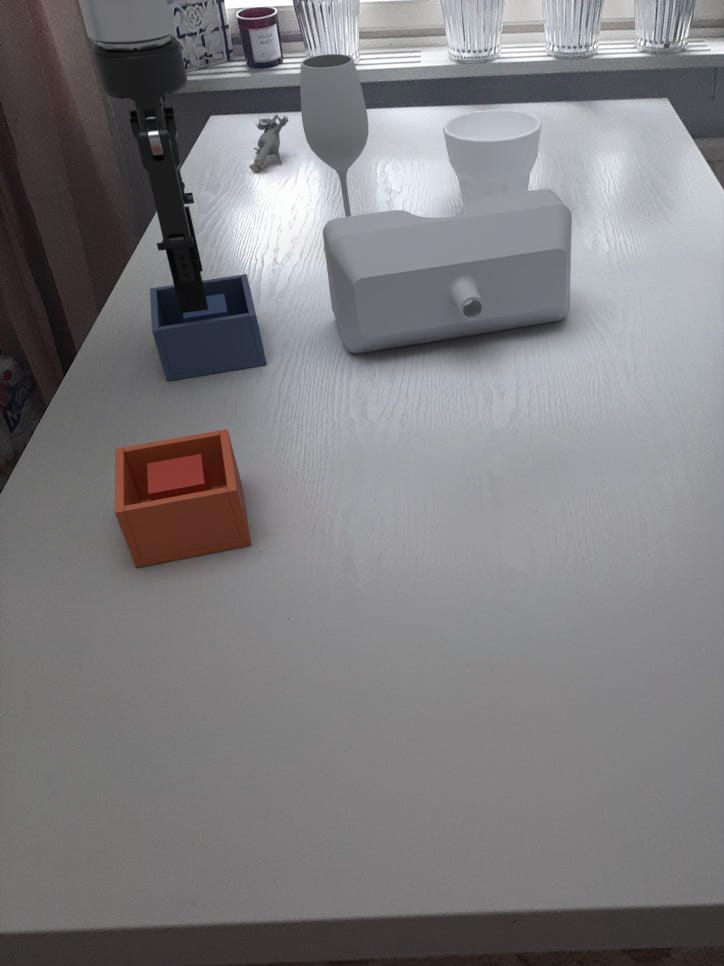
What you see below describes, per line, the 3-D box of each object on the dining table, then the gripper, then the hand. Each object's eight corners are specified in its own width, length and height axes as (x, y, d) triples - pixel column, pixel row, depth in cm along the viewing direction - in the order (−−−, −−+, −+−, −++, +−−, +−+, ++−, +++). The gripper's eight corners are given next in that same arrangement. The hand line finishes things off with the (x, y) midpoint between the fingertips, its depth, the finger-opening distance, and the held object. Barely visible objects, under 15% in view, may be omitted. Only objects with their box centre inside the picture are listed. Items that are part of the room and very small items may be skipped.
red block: (163, 537, 80) (147, 493, 77) (161, 507, 83) (146, 463, 80) (217, 527, 81) (204, 482, 78) (213, 497, 84) (201, 453, 81)
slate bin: (166, 381, 100) (151, 330, 97) (163, 337, 108) (149, 288, 104) (266, 364, 102) (256, 314, 98) (257, 322, 109) (246, 273, 106)
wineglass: (384, 234, 126) (364, 50, 111) (379, 258, 120) (356, 68, 106) (327, 236, 126) (299, 53, 112) (318, 261, 121) (288, 71, 106)
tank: (356, 386, 98) (338, 265, 89) (333, 318, 109) (315, 204, 101) (590, 347, 102) (595, 227, 93) (544, 285, 113) (545, 172, 104)
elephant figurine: (225, 171, 146) (246, 131, 150) (259, 197, 149) (279, 157, 153) (254, 134, 139) (275, 92, 142) (289, 162, 142) (309, 120, 145)
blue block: (194, 358, 103) (183, 318, 99) (192, 339, 106) (181, 299, 103) (236, 351, 103) (227, 311, 100) (233, 332, 106) (224, 293, 103)
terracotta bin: (135, 568, 79) (114, 512, 75) (134, 502, 85) (115, 448, 81) (251, 545, 80) (236, 489, 76) (241, 483, 87) (227, 428, 83)
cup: (493, 190, 136) (490, 103, 128) (560, 210, 129) (562, 120, 121) (429, 217, 129) (422, 127, 122) (496, 240, 123) (493, 147, 115)
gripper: (184, 66, 78) (237, 331, 93) (174, 9, 93) (221, 245, 108) (87, 75, 76) (157, 342, 92) (92, 15, 91) (152, 253, 107)
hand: (191, 289), depth 100 cm, fingers open, 9 cm apart
